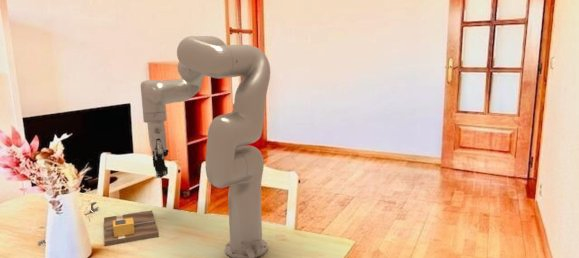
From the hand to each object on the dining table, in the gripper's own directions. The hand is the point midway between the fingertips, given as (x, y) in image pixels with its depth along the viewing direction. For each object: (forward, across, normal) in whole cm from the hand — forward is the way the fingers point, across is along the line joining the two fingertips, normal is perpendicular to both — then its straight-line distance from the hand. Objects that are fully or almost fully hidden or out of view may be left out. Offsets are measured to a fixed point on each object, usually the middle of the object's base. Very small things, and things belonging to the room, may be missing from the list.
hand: (159, 168), depth 151 cm
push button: (+3, 0, 0) cm, 3 cm away
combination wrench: (+18, +11, +29) cm, 36 cm away
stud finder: (+17, -12, +13) cm, 24 cm away
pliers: (+19, -1, +32) cm, 37 cm away
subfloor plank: (+18, -6, +11) cm, 22 cm away
